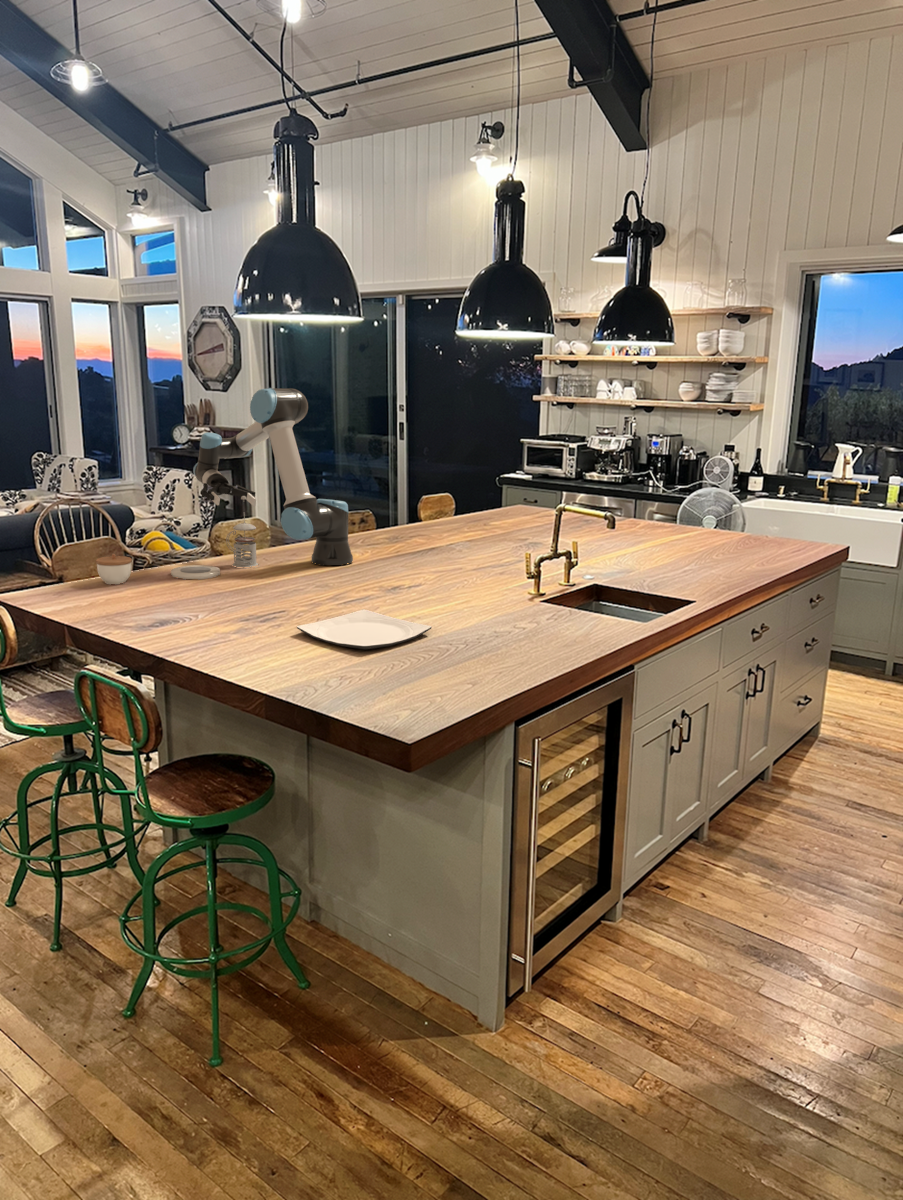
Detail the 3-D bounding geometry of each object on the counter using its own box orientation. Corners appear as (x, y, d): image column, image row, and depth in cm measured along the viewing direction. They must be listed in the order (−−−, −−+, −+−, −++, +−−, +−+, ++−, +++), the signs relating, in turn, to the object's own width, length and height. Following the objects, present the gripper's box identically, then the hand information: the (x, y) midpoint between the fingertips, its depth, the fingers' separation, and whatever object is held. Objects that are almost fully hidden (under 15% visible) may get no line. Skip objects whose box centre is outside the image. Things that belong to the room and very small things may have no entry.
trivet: (229, 574, 313) (229, 569, 313) (191, 581, 301) (191, 576, 300) (199, 567, 322) (199, 562, 322) (161, 574, 310) (161, 569, 309)
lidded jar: (125, 586, 292) (124, 557, 290) (92, 585, 292) (90, 556, 290) (137, 579, 302) (136, 551, 300) (105, 578, 302) (103, 550, 300)
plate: (364, 616, 266) (364, 607, 266) (439, 636, 249) (439, 626, 248) (288, 635, 245) (288, 626, 244) (365, 658, 227) (365, 648, 227)
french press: (252, 569, 322) (251, 498, 316) (222, 566, 325) (219, 496, 319) (263, 563, 332) (262, 494, 326) (233, 561, 334) (231, 493, 328)
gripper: (245, 493, 352) (267, 512, 336) (181, 491, 337) (201, 511, 322) (248, 474, 349) (270, 493, 333) (184, 471, 334) (204, 491, 319)
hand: (236, 502), depth 328 cm, fingers open, 13 cm apart
